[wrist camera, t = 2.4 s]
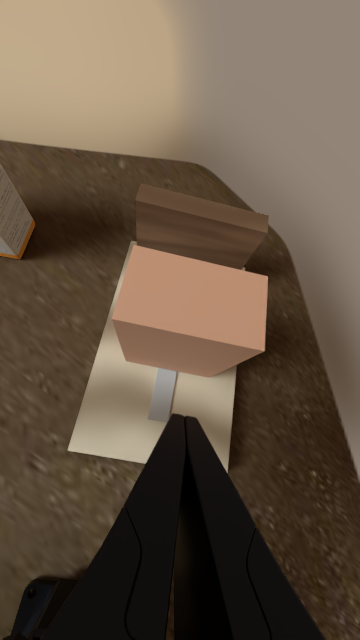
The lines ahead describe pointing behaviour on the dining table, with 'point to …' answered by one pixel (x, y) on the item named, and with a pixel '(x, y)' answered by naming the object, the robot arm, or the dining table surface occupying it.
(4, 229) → the supplement box
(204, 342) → the tan rectangular block
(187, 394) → the track
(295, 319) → the dining table surface
